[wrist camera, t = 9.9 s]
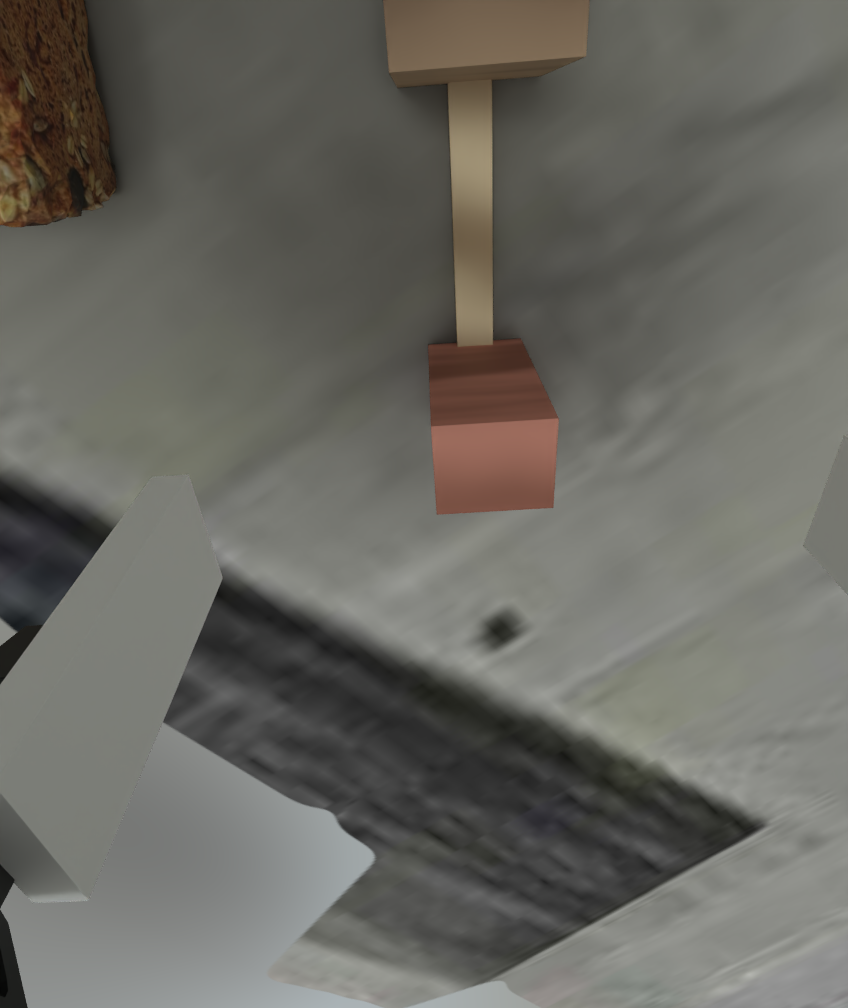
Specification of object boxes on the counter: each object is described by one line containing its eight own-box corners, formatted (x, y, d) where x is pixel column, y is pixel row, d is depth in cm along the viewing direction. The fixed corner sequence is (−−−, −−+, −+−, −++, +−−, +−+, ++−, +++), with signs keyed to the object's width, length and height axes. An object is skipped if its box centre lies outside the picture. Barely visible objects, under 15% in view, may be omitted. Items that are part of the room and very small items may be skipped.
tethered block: (382, -113, 22) (358, -267, 13) (547, -128, 21) (629, -294, 13) (422, 416, 33) (422, 515, 24) (529, 409, 33) (567, 506, 24)
